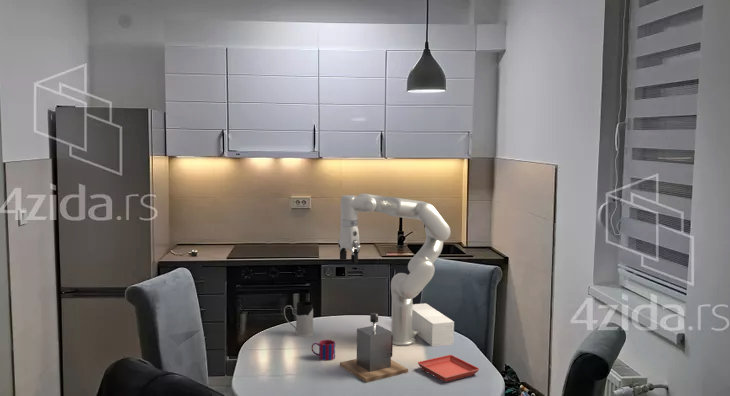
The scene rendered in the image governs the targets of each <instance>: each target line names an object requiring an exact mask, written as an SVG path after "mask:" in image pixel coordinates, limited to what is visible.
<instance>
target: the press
mask: <svg viewBox="0 0 730 396" xmlns="http://www.w3.org/2000/svg"><path fill="white" fill-rule="evenodd" d="M393 345H394V344H393V335H391V330H389V329H387V328H385V327H383V326H381V325H378V324H375V331H373V325H369V326H363V327H360V328H357V329H356V359H357V365H359V366H361V367H362V368H364V369H366V370H367V371H369V372H372V371H377V370H381V369H385V368H390V367H391V360H392V357H393Z"/></svg>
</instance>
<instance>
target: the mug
mask: <svg viewBox="0 0 730 396" xmlns="http://www.w3.org/2000/svg"><path fill="white" fill-rule="evenodd" d="M315 345H317V346H318V348H319V349H318V351H319V352H318V353H317V352H316V351H315V350H314V346H315ZM311 352H312V353H313V354H314V355H315V356H318V357H319V360H321V361H324V362H325V361H328V362H329V361H333V360H335V359H336V341H335V340H332V339H323V340H320V341H319V343H318V342H314V343H312V345H311Z"/></svg>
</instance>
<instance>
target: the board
mask: <svg viewBox="0 0 730 396" xmlns="http://www.w3.org/2000/svg"><path fill="white" fill-rule="evenodd" d="M339 367H340V368H342V369H344V370H345V371H347V372H348V373H350V374H351V375H353V376H355V377H356V378H358V379H359V380H361V381H363V382H365V383H370V382H374V381H378V380H383V379H386V378H391V377H395V376H399V375H403V373H404V374H408V373H409V368H407V367H406V366H404V365H402V364H400V363H398V362H397V361H394V360H393V359H391V367H390V368H385V369H381V370H377V371H372V372H369V371H367V370H366V369H364V368H362V367H361V366H359V365H357V358H355V359H350V360H344V361H341V362H339ZM407 372H408V373H407Z"/></svg>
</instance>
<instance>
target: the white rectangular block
mask: <svg viewBox="0 0 730 396" xmlns="http://www.w3.org/2000/svg"><path fill="white" fill-rule="evenodd" d="M412 330H414V331H420V335H417V336H419V337H420V338H421V339H422V340H424V341H425V342H426V343H427V344H429V346H431V347H438V346H450V345H454V343H455V342H454V341H455V338H454V335H455V321H453V320H452V319H451V318H449V317H448V316H447V315H444V314H443V313H441V312H440V311H438V310H437V309H435V308H434V307H432V306H431V305H429V304H428V303H426V302H425V303H415V304H414V303H413V311H412Z"/></svg>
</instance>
